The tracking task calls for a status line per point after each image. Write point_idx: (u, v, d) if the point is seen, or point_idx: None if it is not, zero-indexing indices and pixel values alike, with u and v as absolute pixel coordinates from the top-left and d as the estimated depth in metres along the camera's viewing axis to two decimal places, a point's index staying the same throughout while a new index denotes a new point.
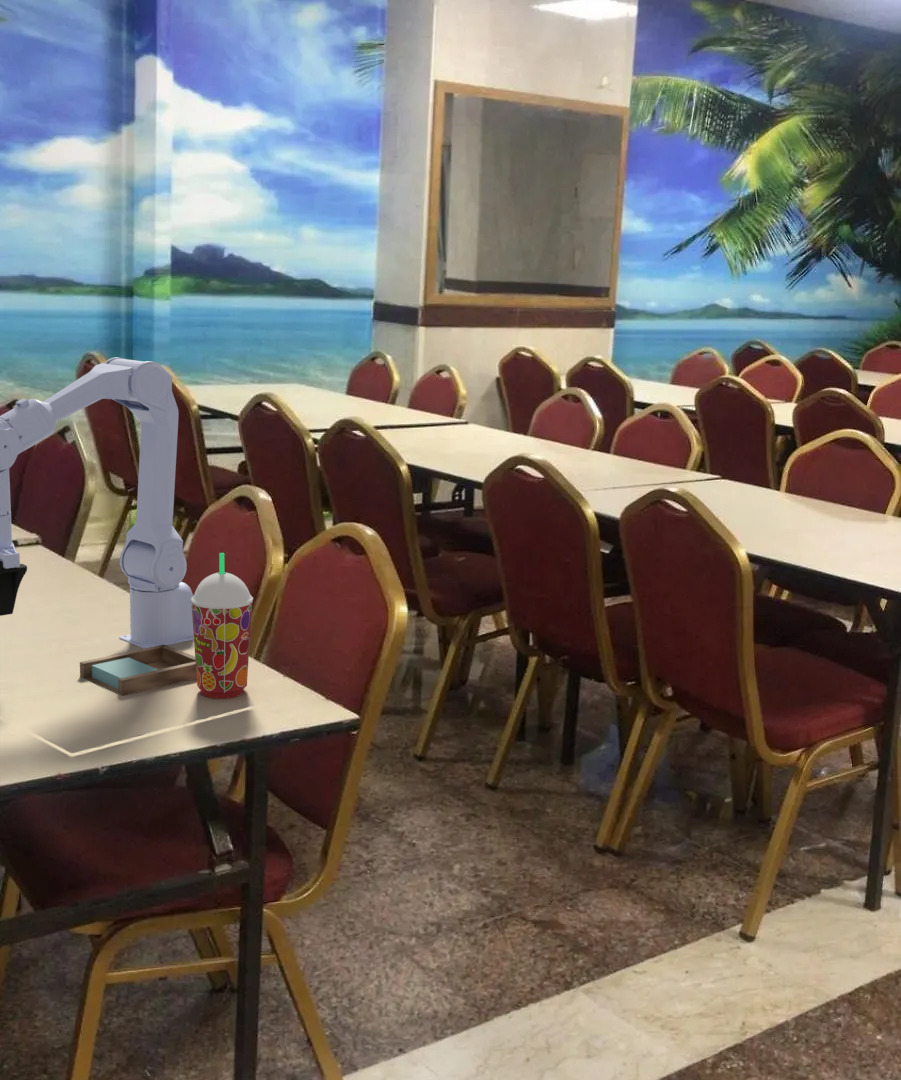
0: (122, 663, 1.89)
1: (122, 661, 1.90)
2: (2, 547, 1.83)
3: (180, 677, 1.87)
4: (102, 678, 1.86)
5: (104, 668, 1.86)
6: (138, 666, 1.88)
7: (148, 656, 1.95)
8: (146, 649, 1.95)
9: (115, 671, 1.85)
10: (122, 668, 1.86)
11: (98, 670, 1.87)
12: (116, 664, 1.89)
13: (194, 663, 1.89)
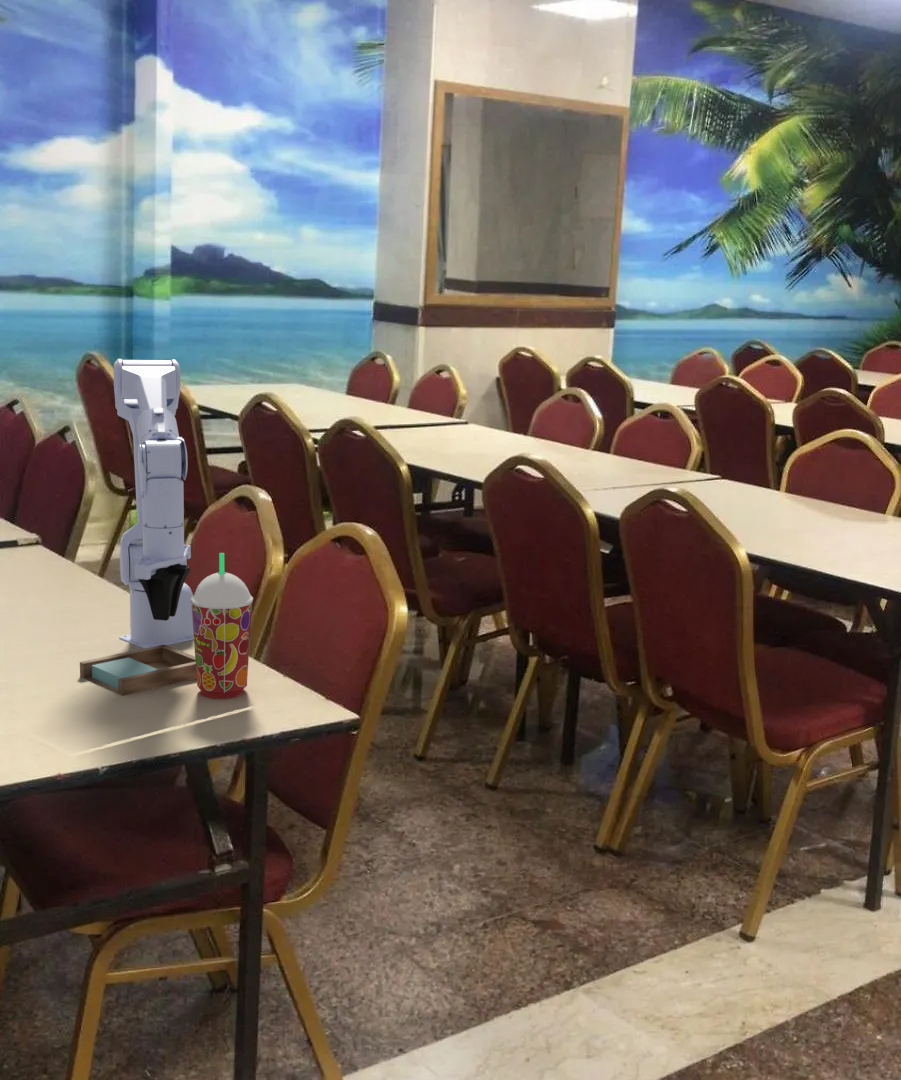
0: (122, 663, 1.89)
1: (122, 661, 1.90)
2: (158, 559, 1.86)
3: (180, 677, 1.87)
4: (102, 678, 1.86)
5: (104, 668, 1.86)
6: (138, 666, 1.88)
7: (148, 656, 1.95)
8: (146, 649, 1.95)
9: (115, 671, 1.85)
10: (122, 668, 1.86)
11: (98, 670, 1.87)
12: (116, 664, 1.89)
13: (194, 663, 1.89)
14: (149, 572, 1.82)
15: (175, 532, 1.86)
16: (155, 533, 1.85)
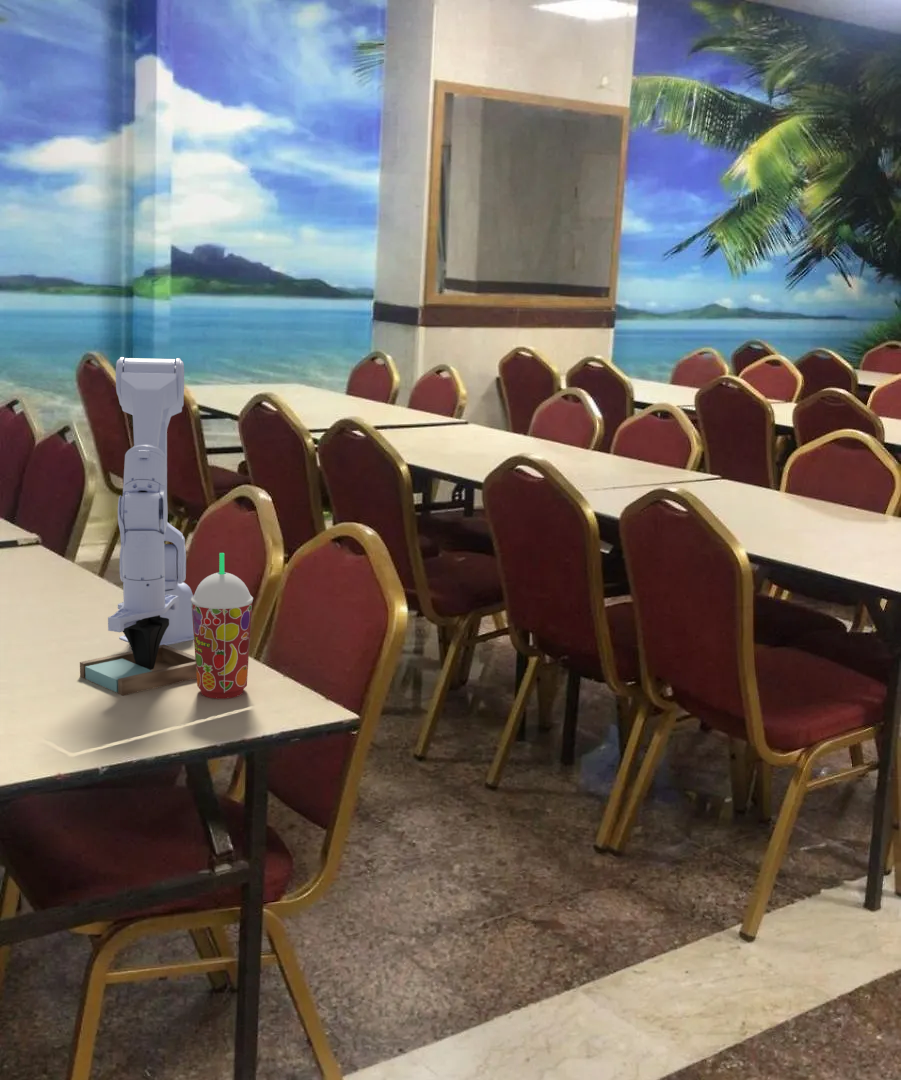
0: (116, 664, 1.88)
1: (116, 662, 1.89)
2: (135, 610, 1.85)
3: (180, 677, 1.87)
4: (96, 680, 1.85)
5: (97, 670, 1.86)
6: (131, 667, 1.87)
7: None
8: None
9: (109, 672, 1.85)
10: (115, 670, 1.86)
11: (92, 671, 1.86)
12: (110, 665, 1.88)
13: (194, 663, 1.89)
14: (122, 625, 1.81)
15: (153, 584, 1.85)
16: (133, 585, 1.84)
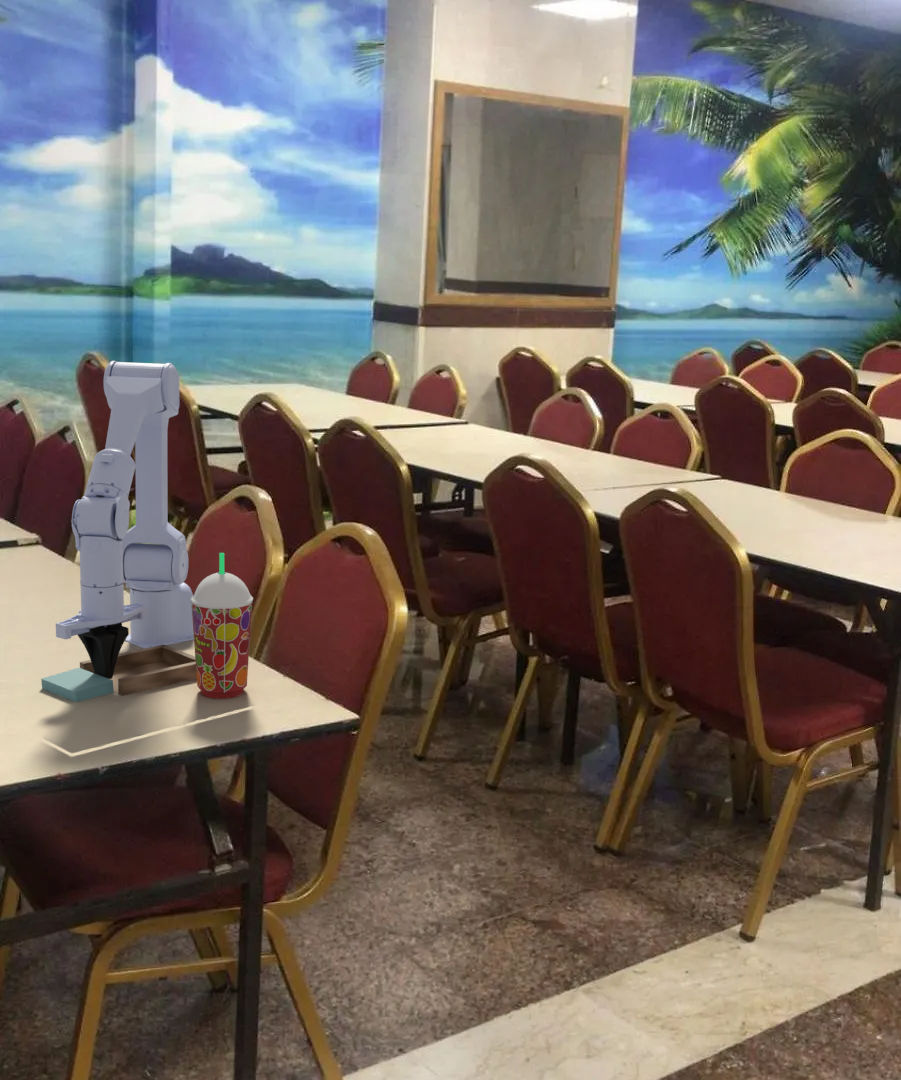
0: (73, 675, 1.84)
1: (72, 672, 1.85)
2: (88, 618, 1.80)
3: (180, 677, 1.87)
4: (53, 692, 1.81)
5: (54, 682, 1.81)
6: (89, 677, 1.83)
7: (148, 656, 1.95)
8: (146, 649, 1.95)
9: (66, 684, 1.80)
10: (73, 681, 1.81)
11: (48, 683, 1.81)
12: (67, 675, 1.84)
13: (194, 663, 1.89)
14: (68, 632, 1.77)
15: (106, 592, 1.80)
16: (86, 592, 1.80)
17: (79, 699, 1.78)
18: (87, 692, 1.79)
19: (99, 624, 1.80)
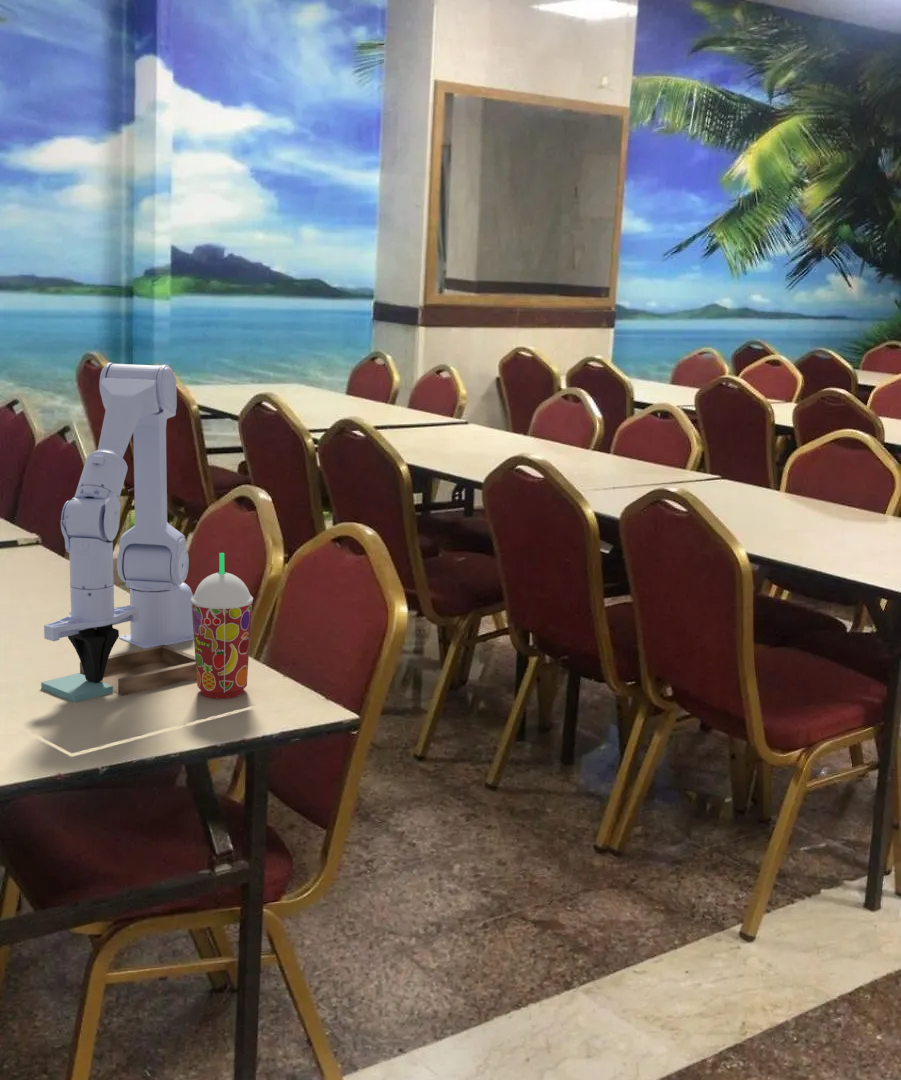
0: (73, 680, 1.84)
1: (72, 677, 1.85)
2: (77, 620, 1.79)
3: (180, 677, 1.87)
4: None
5: (54, 685, 1.81)
6: (89, 682, 1.83)
7: (148, 656, 1.95)
8: (146, 649, 1.95)
9: (66, 688, 1.80)
10: (73, 685, 1.82)
11: (48, 687, 1.81)
12: (67, 680, 1.84)
13: (194, 663, 1.89)
14: (56, 634, 1.76)
15: (95, 594, 1.79)
16: (75, 593, 1.79)
17: None
18: (87, 697, 1.79)
19: (88, 626, 1.79)
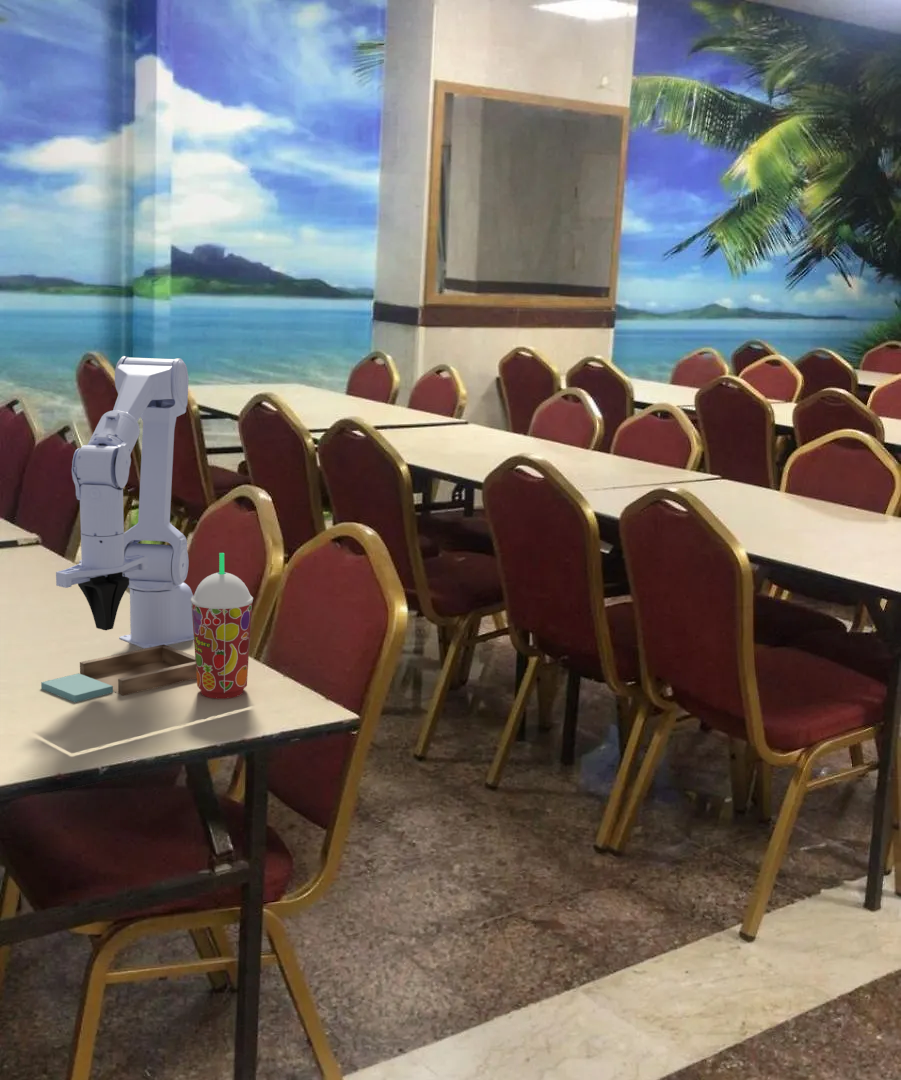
0: (73, 680, 1.84)
1: (73, 677, 1.85)
2: (89, 567, 1.80)
3: (180, 677, 1.87)
4: None
5: (54, 685, 1.81)
6: (89, 682, 1.83)
7: (148, 656, 1.95)
8: (146, 649, 1.95)
9: (66, 687, 1.80)
10: (73, 685, 1.82)
11: (48, 687, 1.81)
12: (67, 680, 1.84)
13: (194, 663, 1.89)
14: (68, 580, 1.77)
15: (106, 541, 1.79)
16: (86, 541, 1.79)
17: None
18: (87, 697, 1.79)
19: (99, 573, 1.79)
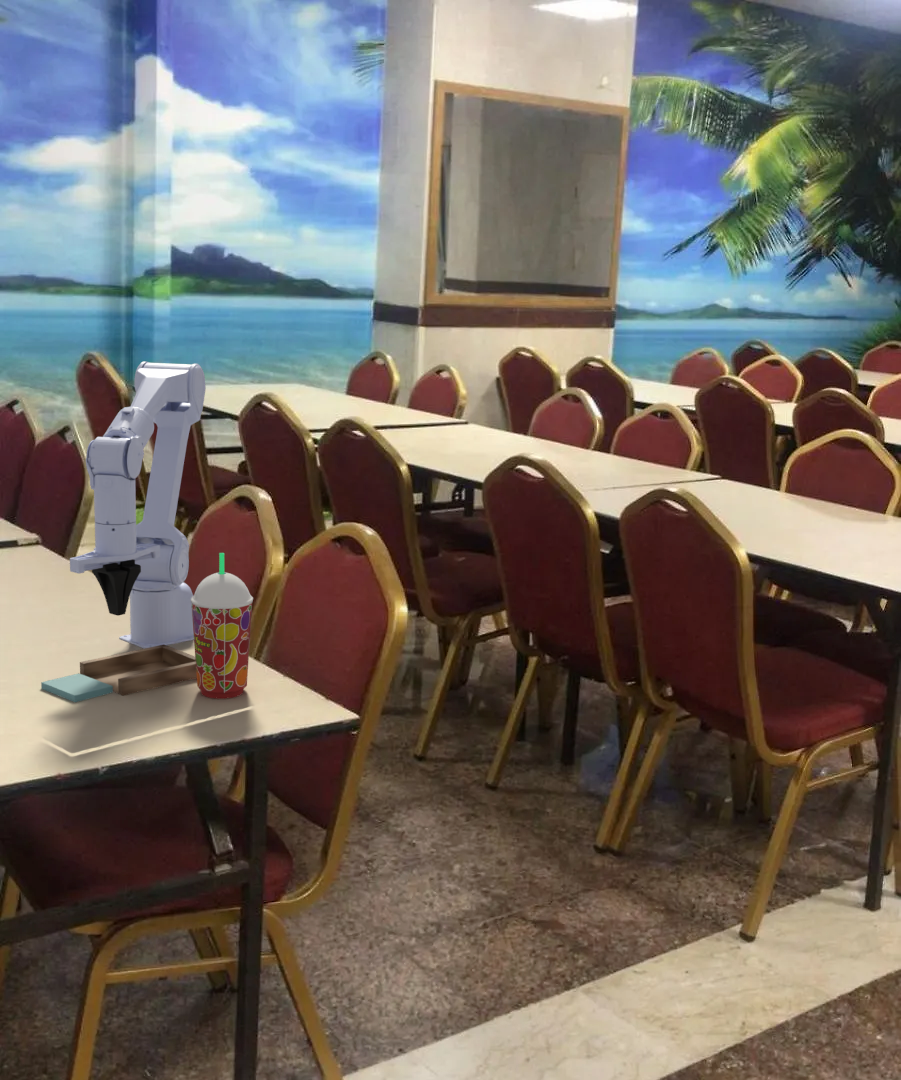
0: (73, 680, 1.84)
1: (73, 677, 1.85)
2: (101, 554, 1.87)
3: (180, 677, 1.87)
4: None
5: (54, 685, 1.81)
6: (89, 682, 1.83)
7: (148, 656, 1.95)
8: (146, 649, 1.95)
9: (66, 687, 1.80)
10: (73, 685, 1.82)
11: (48, 687, 1.81)
12: (67, 680, 1.84)
13: (194, 663, 1.89)
14: (81, 566, 1.84)
15: (118, 529, 1.86)
16: (99, 529, 1.87)
17: None
18: (86, 697, 1.79)
19: (111, 560, 1.87)
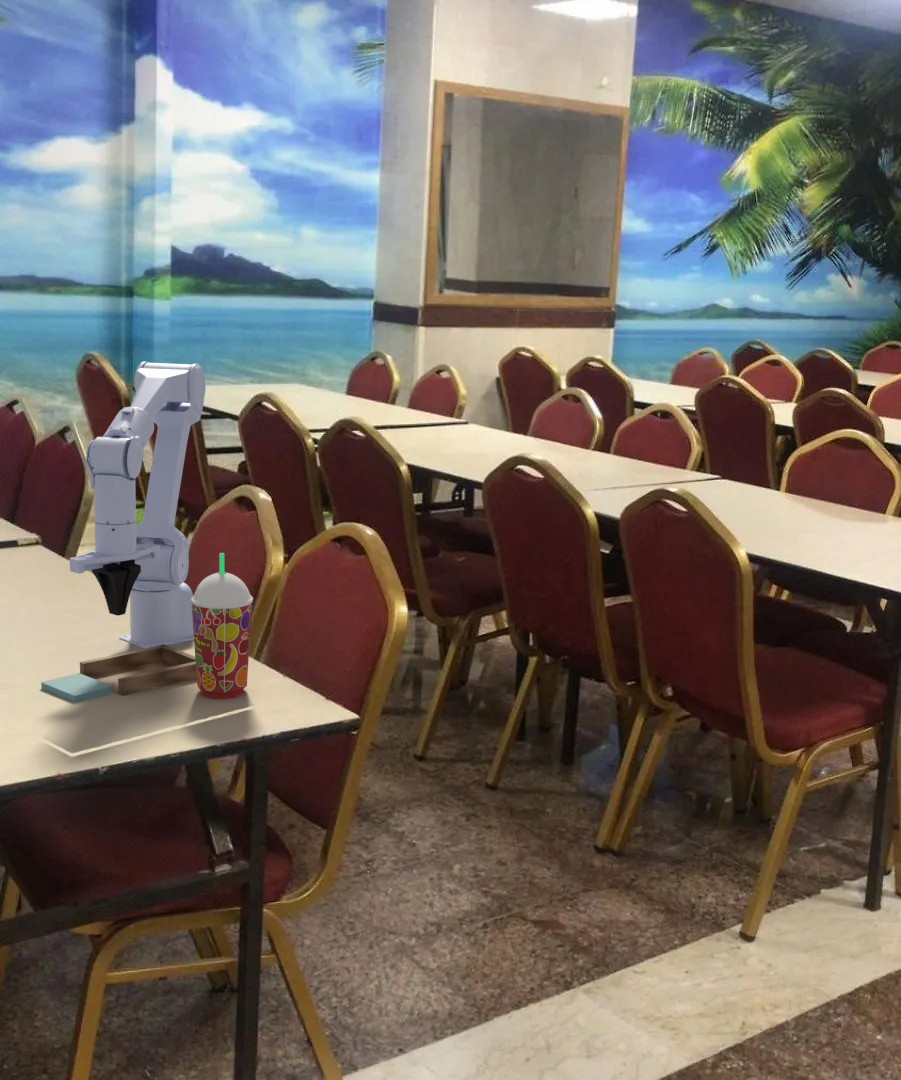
0: (73, 680, 1.84)
1: (73, 677, 1.85)
2: (101, 554, 1.87)
3: (180, 677, 1.87)
4: None
5: (54, 685, 1.81)
6: (89, 682, 1.83)
7: (148, 656, 1.95)
8: (146, 649, 1.95)
9: (66, 688, 1.80)
10: (73, 685, 1.82)
11: (48, 687, 1.81)
12: (67, 680, 1.84)
13: (194, 663, 1.89)
14: (81, 566, 1.84)
15: (118, 529, 1.86)
16: (99, 529, 1.87)
17: None
18: (86, 697, 1.79)
19: (111, 560, 1.87)
